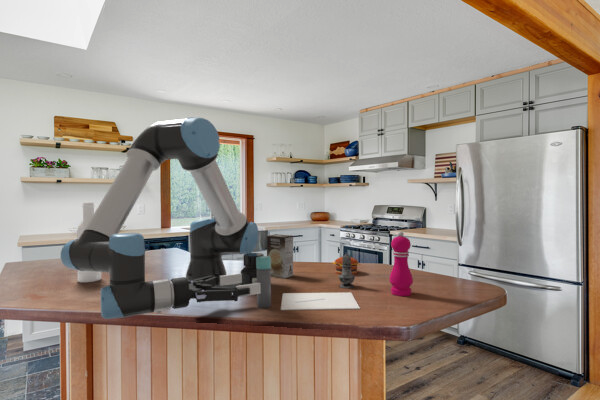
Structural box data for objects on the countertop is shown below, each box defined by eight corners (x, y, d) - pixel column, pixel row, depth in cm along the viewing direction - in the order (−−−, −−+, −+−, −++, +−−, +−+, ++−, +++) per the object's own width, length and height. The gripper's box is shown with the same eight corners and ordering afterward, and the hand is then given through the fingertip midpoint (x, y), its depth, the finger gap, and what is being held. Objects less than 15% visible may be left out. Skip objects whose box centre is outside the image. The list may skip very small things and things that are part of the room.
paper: (280, 310, 99) (280, 308, 99) (282, 294, 115) (282, 293, 115) (359, 309, 99) (359, 307, 99) (350, 293, 115) (350, 292, 115)
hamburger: (330, 272, 148) (330, 256, 148) (349, 269, 152) (349, 254, 152) (343, 276, 140) (342, 259, 140) (363, 274, 144) (362, 257, 144)
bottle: (79, 283, 131) (78, 202, 131) (75, 280, 137) (74, 202, 137) (103, 280, 136) (102, 202, 136) (98, 276, 142) (97, 201, 142)
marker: (255, 308, 101) (255, 258, 100) (257, 303, 105) (257, 256, 105) (270, 308, 101) (270, 258, 101) (271, 303, 105) (271, 256, 105)
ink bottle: (259, 294, 115) (258, 257, 114) (235, 292, 118) (234, 256, 118) (271, 287, 124) (271, 252, 124) (249, 285, 127) (248, 251, 127)
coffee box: (266, 275, 142) (265, 235, 141) (275, 272, 147) (275, 234, 147) (285, 278, 137) (284, 236, 136) (294, 275, 142) (293, 235, 142)
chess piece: (355, 288, 121) (354, 253, 120) (337, 288, 122) (337, 253, 122) (355, 284, 126) (355, 250, 126) (339, 283, 128) (338, 250, 127)
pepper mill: (400, 298, 109) (400, 233, 109) (384, 292, 116) (384, 231, 116) (417, 294, 113) (417, 231, 113) (401, 289, 119) (401, 229, 119)
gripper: (162, 296, 100) (234, 286, 111) (182, 324, 79) (269, 308, 89) (162, 270, 100) (234, 262, 111) (181, 290, 78) (269, 278, 89)
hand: (250, 282), depth 100 cm, fingers open, 13 cm apart
